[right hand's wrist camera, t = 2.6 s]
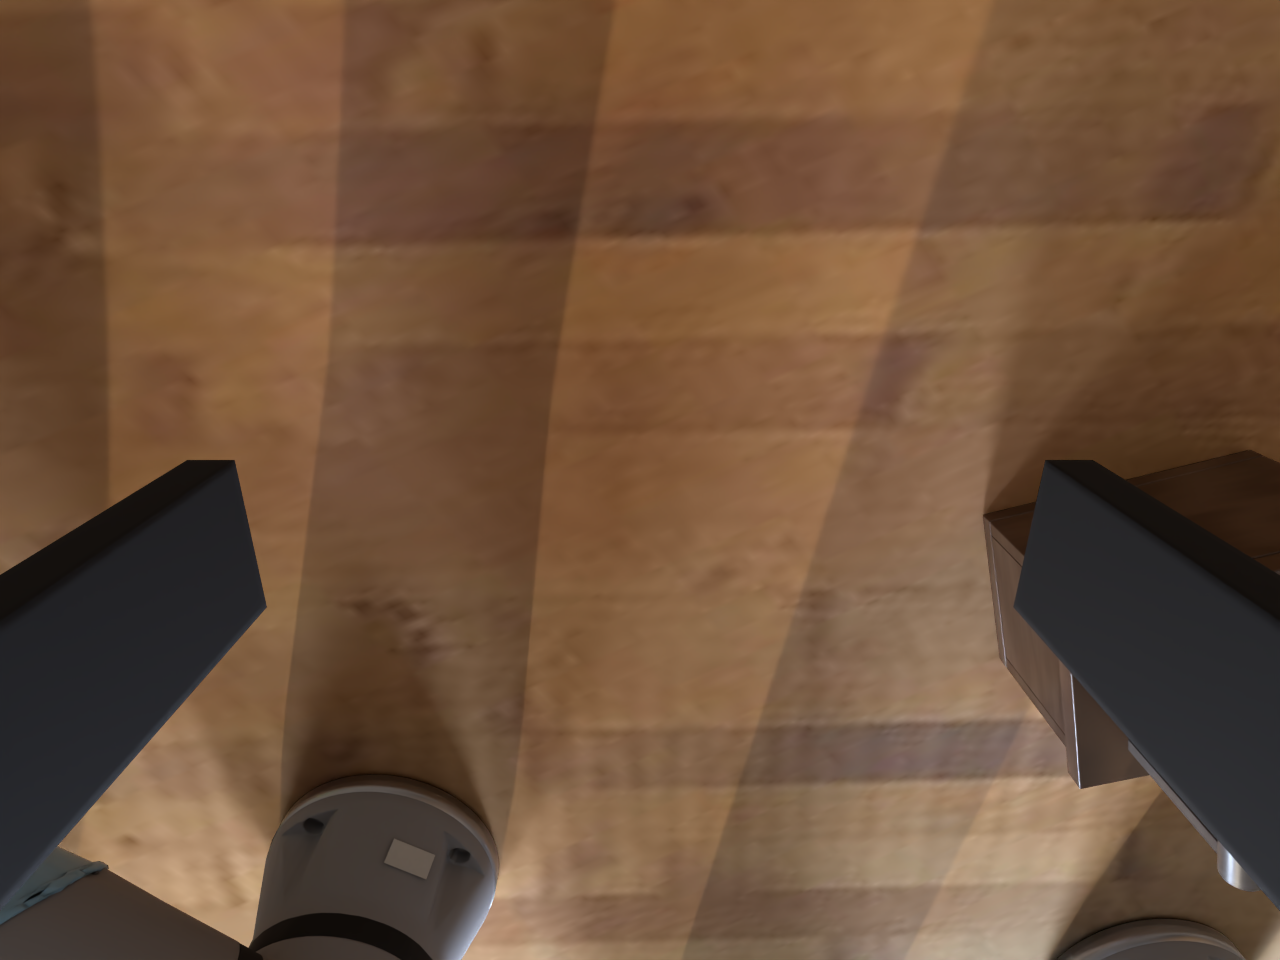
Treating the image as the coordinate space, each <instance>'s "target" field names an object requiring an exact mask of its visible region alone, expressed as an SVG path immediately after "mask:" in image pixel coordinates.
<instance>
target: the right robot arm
mask: <svg viewBox="0 0 1280 960" xmlns="http://www.w3.org/2000/svg"><path fill="white" fill-rule="evenodd" d="M266 607H267V606H266V601H265V597H264V592H263V588H262V583H261V579H260V574H259V569H258V565H257V560H256V556H255V551H254V547H253V542H252V537H251V533H250V528H249V524H248V519H247V515H246V510H245V506H244V501H243V496H242V492H241V487H240V483H239V478H238V474H237V469H236V464H235V460H187V461H185V462H183V463H182V464H180V465H179V466H177V467H175V468H174V469H172V470H170V471H169V472H167V473H165V474H164V475H162V476H161V477H159V478H157V479H156V480H154V481H152V482H151V483H149V484H148V485H146V486H144V487H143V488H141V489H139V490H138V491H136V492H135V493H133V494H131V495H130V496H128V497H126V498H125V499H123V500H122V501H120V502H118V503H117V504H115V505H113V506H112V507H110V508H109V509H107V510H105V511H104V512H102V513H100V514H99V515H97V516H96V517H94V518H92V519H91V520H89V521H87V522H86V523H84V524H83V525H81V526H79V527H78V528H76V529H74V530H73V531H71V532H69V533H68V534H66V535H65V536H63V537H61V538H60V539H58V540H56V541H55V542H53V543H52V544H50V545H48V546H47V547H45V548H43V549H42V550H40V551H39V552H37V553H35V554H34V555H32V556H30V557H29V558H27V559H26V560H24V561H22V562H21V563H19V564H17V565H16V566H14V567H13V568H11V569H9V570H8V571H6V572H4V573H3V574H1V575H0V960H461V959H462V958H463V956H464V954H465V952H466V951H467V949H468V947H469V946H470V944H471V942H472V941H473V939H474V937H475V936H476V934H477V932H478V930H479V929H480V927H481V925H482V924H483V922H484V920H485V918H486V916H487V914H488V911H489V909H490V907H491V904H492V901H493V898H494V893H495V889H496V884H497V879H498V874H499V857H498V852H497V849H496V846H495V843H494V840H493V838H492V836H491V834H490V832H489V831H488V829H487V828H486V826H485V825H484V824H483V822H482V821H481V820H480V819H479V817H478V816H477V815H476V814H475V813H474V812H473V811H472V810H470V809H469V808H468V807H467V806H466V805H465V804H463V803H462V802H460V801H459V800H458V799H456V798H455V797H453V796H451V795H450V794H448V793H446V792H444V791H442V790H440V789H438V788H436V787H433V786H431V785H428V784H425V783H422V782H419V781H416V780H412V779H408V778H403V777H397V776H390V775H358V776H351V777H346V778H341V779H337V780H334V781H331V782H328V783H326V784H323V785H321V786H319V787H317V788H315V789H313V790H311V791H310V792H308V793H307V794H305V795H304V796H303V797H301V798H300V799H299V800H298V801H297V802H296V803H295V804H294V805H293V806H292V807H291V808H290V810H289V811H288V813H287V814H286V816H285V817H284V819H283V821H282V823H281V825H280V826H279V828H278V830H277V832H276V834H275V836H274V838H273V840H272V843H271V845H270V849H269V852H268V855H267V858H266V863H265V869H264V875H263V881H262V887H261V893H260V899H259V905H258V911H257V918H256V924H255V930H254V936H253V940H252V942H251V944H250V946H249V948H248V947H246V946H244V945H242V944H240V943H239V942H238V941H236V940H234V939H232V938H230V937H228V936H227V935H225V934H223V933H221V932H219V931H217V930H215V929H214V928H212V927H210V926H208V925H206V924H204V923H202V922H201V921H199V920H197V919H195V918H193V917H191V916H189V915H188V914H186V913H184V912H182V911H180V910H178V909H176V908H175V907H173V906H171V905H169V904H167V903H165V902H163V901H162V900H160V899H158V898H156V897H155V896H153V895H151V894H149V893H148V892H146V891H144V890H142V889H141V888H139V887H137V886H135V885H134V884H132V883H130V882H128V881H127V880H125V879H123V878H121V877H120V876H118V875H116V874H114V873H113V872H111V871H109V870H108V865H106V864H105V863H104V862H100V861H97V862H91V861H89V860H86V859H84V858H82V857H80V856H77V855H75V854H73V853H71V852H68V851H66V850H64V849H62V848H60V847H58V844H59V843H60V842H61V841H62V840H63V839H64V838H65V836H66V835H67V834H68V833H69V832H70V831H71V830H72V828H73V827H74V826H75V825H76V824H77V823H78V822H79V820H80V819H81V818H82V817H83V816H84V815H85V814H86V812H87V811H88V810H89V809H90V808H91V807H92V806H93V805H94V803H95V802H96V801H97V800H98V799H99V798H100V797H101V795H102V794H103V793H104V792H105V791H106V790H107V789H108V787H109V786H110V785H111V784H112V783H113V782H114V781H115V779H116V778H117V777H118V776H119V775H120V774H121V773H122V771H123V770H124V769H125V768H126V767H127V766H128V765H129V764H130V762H131V761H132V760H133V759H134V758H135V757H136V756H137V754H138V753H139V752H140V751H141V750H142V749H143V748H144V746H145V745H146V744H147V743H148V742H149V741H150V740H151V738H152V737H153V736H154V735H155V734H156V733H157V732H158V730H159V729H160V728H161V727H162V726H163V725H164V724H165V722H166V721H167V720H168V719H169V718H170V717H171V716H172V715H173V713H174V712H175V711H176V710H177V709H178V708H179V707H180V705H181V704H182V703H183V702H184V701H185V700H186V699H187V697H188V696H189V695H190V694H191V693H192V692H193V691H194V689H195V688H196V687H197V686H198V685H199V684H200V683H201V681H202V680H203V679H204V678H205V677H206V676H207V675H208V674H209V672H210V671H211V670H212V669H213V668H214V667H215V666H216V664H217V663H218V662H219V661H220V660H221V659H222V658H223V656H224V655H225V654H226V653H227V652H228V651H229V650H230V648H231V647H232V646H233V645H234V644H235V643H236V642H237V640H238V639H239V638H240V637H241V636H242V635H243V634H244V632H245V631H246V630H247V629H248V628H249V627H250V626H251V625H252V623H253V622H254V621H255V620H256V619H257V618H258V617H259V615H260V614H261V613H262V612H263V611H264V610H265V609H266ZM1013 607H1014V609H1015V610H1016V611H1017V612H1018V613H1019V614H1020V615H1021V617H1022V618H1023V619H1024V620H1025V621H1026V622H1027V623H1028V625H1029V626H1030V627H1031V628H1032V629H1033V630H1034V631H1035V632H1036V634H1037V635H1038V636H1039V637H1040V638H1041V639H1042V640H1043V642H1044V643H1045V644H1046V645H1047V646H1048V647H1049V648H1050V650H1051V651H1052V652H1053V653H1054V654H1055V655H1056V656H1057V658H1058V659H1059V660H1060V661H1061V662H1062V663H1063V664H1064V666H1065V667H1066V668H1067V669H1068V670H1069V671H1070V672H1071V674H1072V675H1073V676H1074V677H1075V678H1076V679H1077V680H1078V681H1079V683H1080V684H1081V685H1082V686H1083V687H1084V688H1085V689H1086V691H1087V692H1088V693H1089V694H1090V695H1091V696H1092V697H1093V699H1094V700H1095V701H1096V702H1097V703H1098V704H1099V705H1100V707H1101V708H1102V709H1103V710H1104V711H1105V712H1106V713H1107V715H1108V716H1109V717H1110V718H1111V719H1112V720H1113V721H1114V722H1115V724H1116V725H1117V726H1118V727H1119V728H1120V729H1121V730H1122V732H1123V733H1124V734H1125V735H1126V736H1127V737H1128V738H1129V740H1130V741H1131V742H1132V743H1133V744H1134V745H1135V746H1136V748H1137V749H1138V750H1139V751H1140V752H1141V753H1142V754H1143V756H1144V757H1145V758H1146V759H1147V760H1148V761H1149V762H1150V764H1151V765H1152V766H1153V767H1154V768H1155V769H1156V770H1157V771H1158V773H1159V774H1160V775H1161V776H1162V777H1163V778H1164V779H1165V781H1166V782H1167V783H1168V784H1169V785H1170V786H1171V787H1172V789H1173V790H1174V791H1175V792H1176V793H1177V794H1178V795H1179V797H1180V798H1181V799H1182V800H1183V801H1184V802H1185V803H1186V805H1187V806H1188V807H1189V808H1190V809H1191V810H1192V811H1193V812H1194V814H1195V815H1196V816H1197V817H1198V818H1199V819H1200V820H1201V822H1202V823H1203V824H1204V825H1205V826H1206V827H1207V828H1208V830H1209V831H1210V832H1211V833H1212V834H1213V835H1214V836H1215V838H1216V839H1217V840H1218V841H1219V842H1220V843H1221V844H1222V846H1223V847H1224V848H1225V849H1226V850H1227V851H1228V852H1229V854H1230V855H1231V856H1232V857H1233V858H1234V859H1235V860H1236V861H1237V863H1238V864H1239V865H1240V866H1241V867H1242V868H1243V869H1244V871H1245V872H1246V873H1247V874H1248V875H1249V876H1250V877H1251V879H1252V880H1253V881H1254V882H1255V883H1256V884H1257V885H1258V887H1259V888H1260V889H1261V890H1262V891H1263V892H1264V893H1265V895H1266V896H1267V897H1268V898H1269V899H1270V900H1271V901H1272V903H1273V904H1274V905H1275V906H1276V907H1277V908H1278V909H1279V910H1280V575H1279V574H1277V573H1276V572H1274V571H1272V570H1271V569H1269V568H1267V567H1266V566H1264V565H1263V564H1261V563H1259V562H1258V561H1256V560H1254V559H1253V558H1251V557H1250V556H1248V555H1246V554H1245V553H1243V552H1241V551H1240V550H1238V549H1237V548H1235V547H1233V546H1232V545H1230V544H1228V543H1227V542H1225V541H1224V540H1222V539H1220V538H1219V537H1217V536H1215V535H1214V534H1212V533H1211V532H1209V531H1207V530H1206V529H1204V528H1202V527H1201V526H1199V525H1197V524H1196V523H1194V522H1193V521H1191V520H1189V519H1188V518H1186V517H1184V516H1183V515H1181V514H1180V513H1178V512H1176V511H1175V510H1173V509H1171V508H1170V507H1168V506H1167V505H1165V504H1163V503H1162V502H1160V501H1158V500H1157V499H1155V498H1154V497H1152V496H1150V495H1149V494H1147V493H1145V492H1144V491H1142V490H1141V489H1139V488H1137V487H1136V486H1134V485H1132V484H1131V483H1129V482H1128V481H1126V480H1124V479H1123V478H1121V477H1119V476H1118V475H1116V474H1115V473H1113V472H1111V471H1110V470H1108V469H1106V468H1105V467H1103V466H1101V465H1100V464H1098V463H1097V462H1095V461H1093V460H1045V464H1044V469H1043V474H1042V478H1041V483H1040V487H1039V492H1038V496H1037V501H1036V506H1035V510H1034V515H1033V519H1032V524H1031V528H1030V533H1029V537H1028V542H1027V547H1026V551H1025V556H1024V560H1023V565H1022V569H1021V574H1020V579H1019V583H1018V588H1017V592H1016V597H1015V601H1014V606H1013Z"/></svg>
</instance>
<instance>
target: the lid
mask: <svg viewBox="0 0 1280 960" xmlns="http://www.w3.org/2000/svg"><path fill="white" fill-rule="evenodd" d="M1254 560H1256V561H1258V562H1259V563H1261V564H1263V565H1264V566H1266V567H1267V568H1269V569H1271V570H1272V571H1274V572H1276V573H1277V574H1279V575H1280V553H1278V554H1274V555H1270V556H1265V557H1261V558H1256V559H1254ZM1059 669H1060V681H1061V693H1062V705H1063V718H1064V730H1065V742H1066V754H1067V766H1068V773H1069V774H1070V776H1071V777H1072V778H1073V780H1074V781H1075V783H1076V784H1077V785H1078V787H1079V788H1080V789H1083V788H1088V787H1093V786H1097V785H1102V784H1107V783H1112V782H1117V781H1122V780H1127V779H1132V778H1137V777H1142V776H1147V775H1150V776H1151V777H1152V778H1153V779H1154V780H1155V782H1156V783H1157V784H1158V785H1159V786H1160V788H1161V789H1162V790H1163V791H1164V792H1165V793H1166V795H1167V796H1168V797H1169V798H1170V799H1171V800H1172V802H1173V803H1174V804H1175V805H1176V806H1177V808H1178V809H1179V810H1180V811H1181V812H1182V813H1183V815H1184V816H1185V817H1186V818H1187V819H1188V820H1189V822H1190V823H1191V824H1192V825H1193V826H1194V827H1195V829H1196V830H1197V831H1198V832H1199V833H1200V835H1201V836H1202V837H1203V838H1204V839H1205V840H1206V842H1207V843H1208V844H1209V845H1210V846H1211V847H1212V849H1213V850H1214V851H1215V852H1216V853H1217V869H1218V872H1219V874H1220V875H1221V877H1222V878H1223V879H1224V880H1225V881H1226V882H1227V883H1229V884H1230V885H1232V886H1234V887H1236V888H1238V889H1241V890H1244V891H1259V890H1261V889H1260V888H1259V887H1258V885H1257V884H1256V883H1255V882H1254V881H1253V880H1252V879H1251V877H1250V876H1249V875H1248V874H1247V873H1246V872H1245V871H1244V869H1243V868H1242V867H1241V866H1240V865H1239V864H1238V863H1237V861H1236V860H1235V859H1234V858H1233V857H1232V856H1231V855H1230V854H1229V852H1228V851H1227V850H1226V849H1225V848H1224V847H1223V846H1222V844H1221V843H1220V842H1219V841H1218V840H1217V839H1216V838H1215V836H1214V835H1213V834H1212V833H1211V832H1210V831H1209V830H1208V828H1207V827H1206V826H1205V825H1204V824H1203V823H1202V822H1201V820H1200V819H1199V818H1198V817H1197V816H1196V815H1195V814H1194V812H1193V811H1192V810H1191V809H1190V808H1189V807H1188V806H1187V805H1186V803H1185V802H1184V801H1183V800H1182V799H1181V798H1180V797H1179V795H1178V794H1177V793H1176V792H1175V791H1174V790H1173V789H1172V787H1171V786H1170V785H1169V784H1168V783H1167V782H1166V781H1165V779H1164V778H1163V777H1162V776H1161V775H1160V774H1159V773H1158V771H1157V770H1156V769H1155V768H1154V767H1153V766H1152V765H1151V764H1150V762H1149V761H1148V760H1147V759H1146V758H1145V757H1144V756H1143V754H1142V753H1141V752H1140V751H1139V750H1138V749H1137V748H1136V746H1135V745H1134V744H1133V743H1132V742H1131V741H1130V740H1129V738H1128V737H1127V736H1126V735H1125V734H1124V733H1123V732H1122V730H1121V729H1120V728H1119V727H1118V726H1117V725H1116V724H1115V722H1114V721H1113V720H1112V719H1111V718H1110V717H1109V716H1108V715H1107V713H1106V712H1105V711H1104V710H1103V709H1102V708H1101V707H1100V705H1099V704H1098V703H1097V702H1096V701H1095V700H1094V699H1093V697H1092V696H1091V695H1090V694H1089V693H1088V692H1087V691H1086V689H1085V688H1084V687H1083V686H1082V685H1081V684H1080V683H1079V681H1078V680H1077V679H1076V678H1075V677H1074V676H1073V675H1072V674H1071V672H1070V671H1069V670H1068V669H1067V668H1066V667H1065V666H1064V664H1063V663H1062V662H1061V661H1060V660H1059Z"/></svg>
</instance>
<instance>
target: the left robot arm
mask: <svg viewBox="0 0 1280 960" xmlns="http://www.w3.org/2000/svg"><path fill="white" fill-rule="evenodd" d="M1057 960H1245V958H1244V957H1243V956H1242V954H1241V953H1240V952H1239V951H1238V949H1237V948H1236V947H1235V945H1234V944H1233V943H1232V942H1231V941H1230V940H1229V939H1228V938H1227V937H1226V936H1224V935H1223V934H1221V933H1220V932H1218V931H1216V930H1215V929H1213V928H1210V927H1208V926H1205V925H1203V924H1199V923H1196V922H1191V921H1186V920H1178V919H1150V920H1141V921H1135V922H1130V923H1126V924H1122V925H1118V926H1115V927H1111V928H1109V929H1106V930H1103V931H1101V932H1098V933H1096V934H1094V935H1092V936H1090V937H1088V938H1086V939H1084V940H1082V941H1080V942H1079V943H1077V944H1075V945H1074V946H1073V947H1071V948H1070V949H1068V950H1067V951H1066V952H1065V953H1063V954H1062V955H1061V956H1060V957H1059V958H1058V959H1057Z"/></svg>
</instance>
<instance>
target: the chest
mask: <svg viewBox="0 0 1280 960" xmlns="http://www.w3.org/2000/svg"><path fill="white" fill-rule="evenodd" d="M1126 481H1128V482H1129V483H1131V484H1132V485H1134V486H1136V487H1137V488H1139V489H1141V490H1142V491H1144V492H1145V493H1147V494H1149V495H1150V496H1152V497H1154V498H1155V499H1157V500H1158V501H1160V502H1162V503H1163V504H1165V505H1167V506H1168V507H1170V508H1171V509H1173V510H1175V511H1176V512H1178V513H1180V514H1181V515H1183V516H1184V517H1186V518H1188V519H1189V520H1191V521H1193V522H1194V523H1196V524H1197V525H1199V526H1201V527H1202V528H1204V529H1206V530H1207V531H1209V532H1211V533H1212V534H1214V535H1215V536H1217V537H1219V538H1220V539H1222V540H1224V541H1225V542H1227V543H1228V544H1230V545H1232V546H1233V547H1235V548H1237V549H1238V550H1240V551H1241V552H1243V553H1245V554H1246V555H1248V556H1250V557H1251V558H1253V559H1256V558H1261V557H1265V556H1270V555H1274V554H1278V553H1280V463H1278V462H1276V461H1274V460H1272V459H1269V458H1267V457H1265V456H1262V455H1261V454H1259V453H1256V452H1254V451H1252V450H1249V451H1244V452H1240V453H1236V454H1232V455H1228V456H1224V457H1220V458H1216V459H1211V460H1207V461H1203V462H1199V463H1195V464H1191V465H1187V466H1183V467H1178V468H1174V469H1170V470H1166V471H1162V472H1158V473H1154V474H1150V475H1145V476H1141V477H1137V478H1133V479H1129V480H1126ZM1035 506H1036V502H1034V503H1030V504H1026V505H1022V506H1018V507H1014V508H1009V509H1005V510H1001V511H997V512H993V513H989V514H985V515H983V521H984V529H985V538H986V546H987V554H988V563H989V571H990V580H991V588H992V597H993V605H994V613H995V622H996V630H997V639H998V647H999V656H1000V659H1001V661H1002V662H1003V663H1004V665H1005V666H1006V667H1007V669H1008V670H1009V671H1010V673H1011V674H1012V675H1013V677H1014V678H1015V679H1016V681H1017V682H1018V683H1019V685H1020V686H1021V688H1022V689H1023V690H1024V692H1025V693H1026V694H1027V696H1028V697H1029V698H1030V700H1031V701H1032V702H1033V704H1034V705H1035V706H1036V708H1037V709H1038V710H1039V712H1040V713H1041V714H1042V716H1043V717H1044V718H1045V720H1046V721H1047V722H1048V724H1049V725H1050V726H1051V728H1052V729H1053V730H1054V732H1055V733H1056V734H1057V736H1058V737H1059V738H1060V740H1061V741H1062V742H1063V744H1064V745H1065V747H1066V742H1065V730H1064V718H1063V705H1062V693H1061V681H1060V669H1059V659H1058V658H1057V656H1056V655H1055V654H1054V653H1053V652H1052V651H1051V650H1050V648H1049V647H1048V646H1047V645H1046V644H1045V643H1044V642H1043V640H1042V639H1041V638H1040V637H1039V636H1038V635H1037V634H1036V632H1035V631H1034V630H1033V629H1032V628H1031V627H1030V626H1029V625H1028V623H1027V622H1026V621H1025V620H1024V619H1023V618H1022V617H1021V615H1020V614H1019V613H1018V612H1017V611H1016V610H1015V609H1014V607H1013V606H1014V601H1015V597H1016V592H1017V588H1018V583H1019V579H1020V574H1021V569H1022V565H1023V560H1024V556H1025V551H1026V547H1027V542H1028V537H1029V533H1030V528H1031V524H1032V519H1033V515H1034V510H1035Z"/></svg>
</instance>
